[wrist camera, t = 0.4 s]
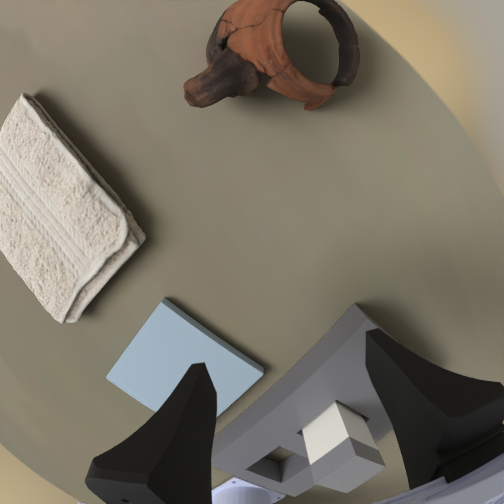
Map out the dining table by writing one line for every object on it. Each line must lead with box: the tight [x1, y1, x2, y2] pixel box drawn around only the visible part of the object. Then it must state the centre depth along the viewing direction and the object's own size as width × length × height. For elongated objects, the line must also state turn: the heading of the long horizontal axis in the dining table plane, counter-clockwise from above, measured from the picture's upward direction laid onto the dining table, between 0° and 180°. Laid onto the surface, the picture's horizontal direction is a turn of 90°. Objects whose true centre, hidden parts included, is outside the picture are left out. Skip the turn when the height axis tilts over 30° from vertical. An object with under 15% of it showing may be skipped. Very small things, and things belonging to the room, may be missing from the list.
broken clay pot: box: [184, 0, 360, 110], centre depth 17 cm, size 12×10×8 cm
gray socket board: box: [211, 303, 403, 497], centre depth 25 cm, size 20×12×3 cm, turn 140°
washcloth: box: [0, 93, 146, 324], centre depth 20 cm, size 12×18×3 cm, turn 44°
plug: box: [302, 400, 386, 493], centre depth 22 cm, size 4×4×9 cm
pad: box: [106, 297, 264, 416], centre depth 24 cm, size 10×10×1 cm
